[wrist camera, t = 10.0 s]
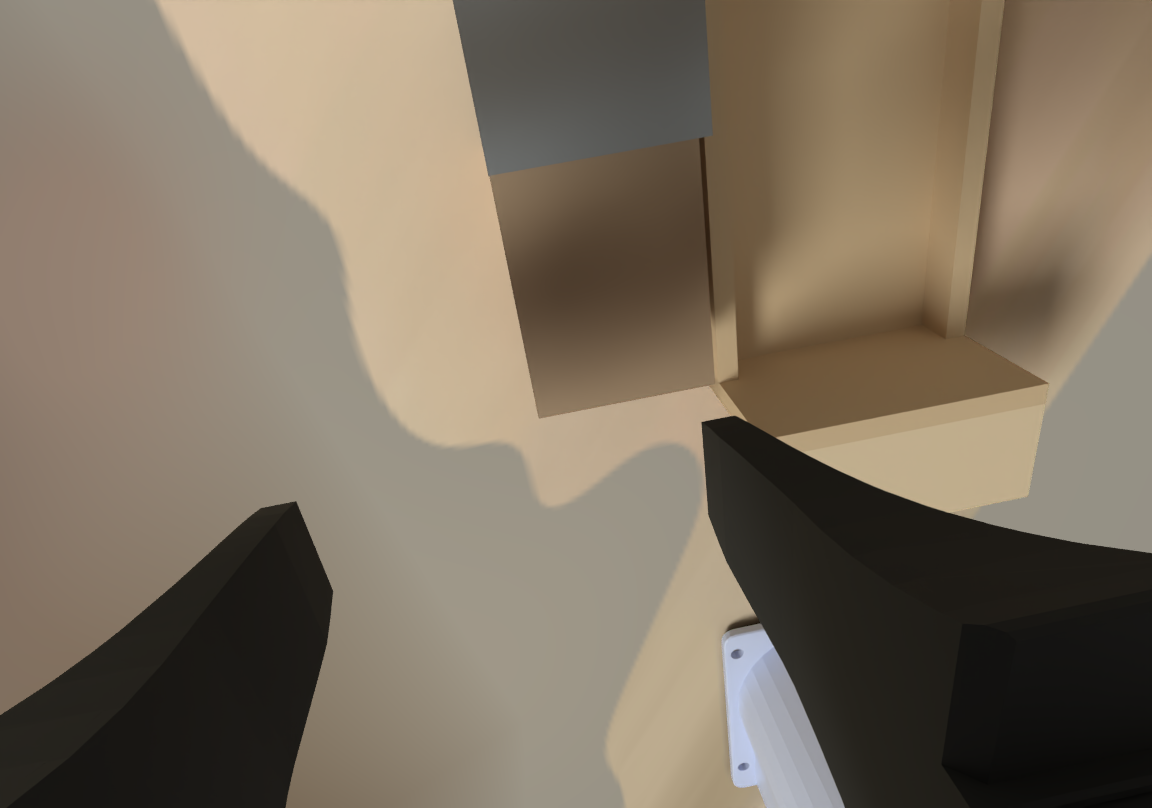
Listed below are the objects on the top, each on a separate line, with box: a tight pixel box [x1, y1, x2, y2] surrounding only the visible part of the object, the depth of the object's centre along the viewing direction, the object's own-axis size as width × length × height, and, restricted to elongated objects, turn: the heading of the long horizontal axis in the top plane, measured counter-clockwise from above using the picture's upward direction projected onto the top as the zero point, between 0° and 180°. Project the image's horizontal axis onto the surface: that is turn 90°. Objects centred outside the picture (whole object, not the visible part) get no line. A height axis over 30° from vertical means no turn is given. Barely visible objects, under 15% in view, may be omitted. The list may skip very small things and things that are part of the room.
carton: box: [699, 0, 1049, 513], centre depth 17 cm, size 20×8×5 cm, turn 8°
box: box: [453, 0, 715, 418], centre depth 16 cm, size 10×4×6 cm, turn 9°
